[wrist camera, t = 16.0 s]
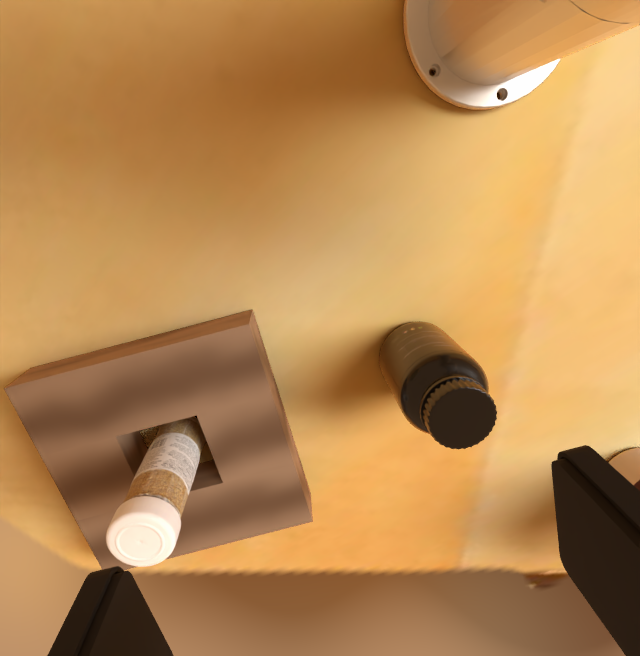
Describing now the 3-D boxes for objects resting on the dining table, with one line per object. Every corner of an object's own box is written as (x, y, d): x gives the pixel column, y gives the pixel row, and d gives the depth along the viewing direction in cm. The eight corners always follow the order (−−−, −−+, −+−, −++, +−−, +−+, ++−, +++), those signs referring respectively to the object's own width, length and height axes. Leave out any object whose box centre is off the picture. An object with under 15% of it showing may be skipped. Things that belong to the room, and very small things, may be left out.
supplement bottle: (457, 374, 43) (520, 447, 31) (388, 396, 43) (425, 476, 31) (441, 308, 40) (502, 360, 29) (368, 332, 41) (401, 393, 29)
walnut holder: (30, 367, 39) (3, 388, 36) (252, 309, 39) (249, 323, 35) (120, 541, 46) (105, 574, 42) (310, 492, 46) (312, 521, 42)
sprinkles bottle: (172, 460, 43) (125, 578, 31) (149, 421, 42) (89, 529, 29) (216, 443, 43) (187, 556, 30) (194, 404, 42) (154, 505, 29)
